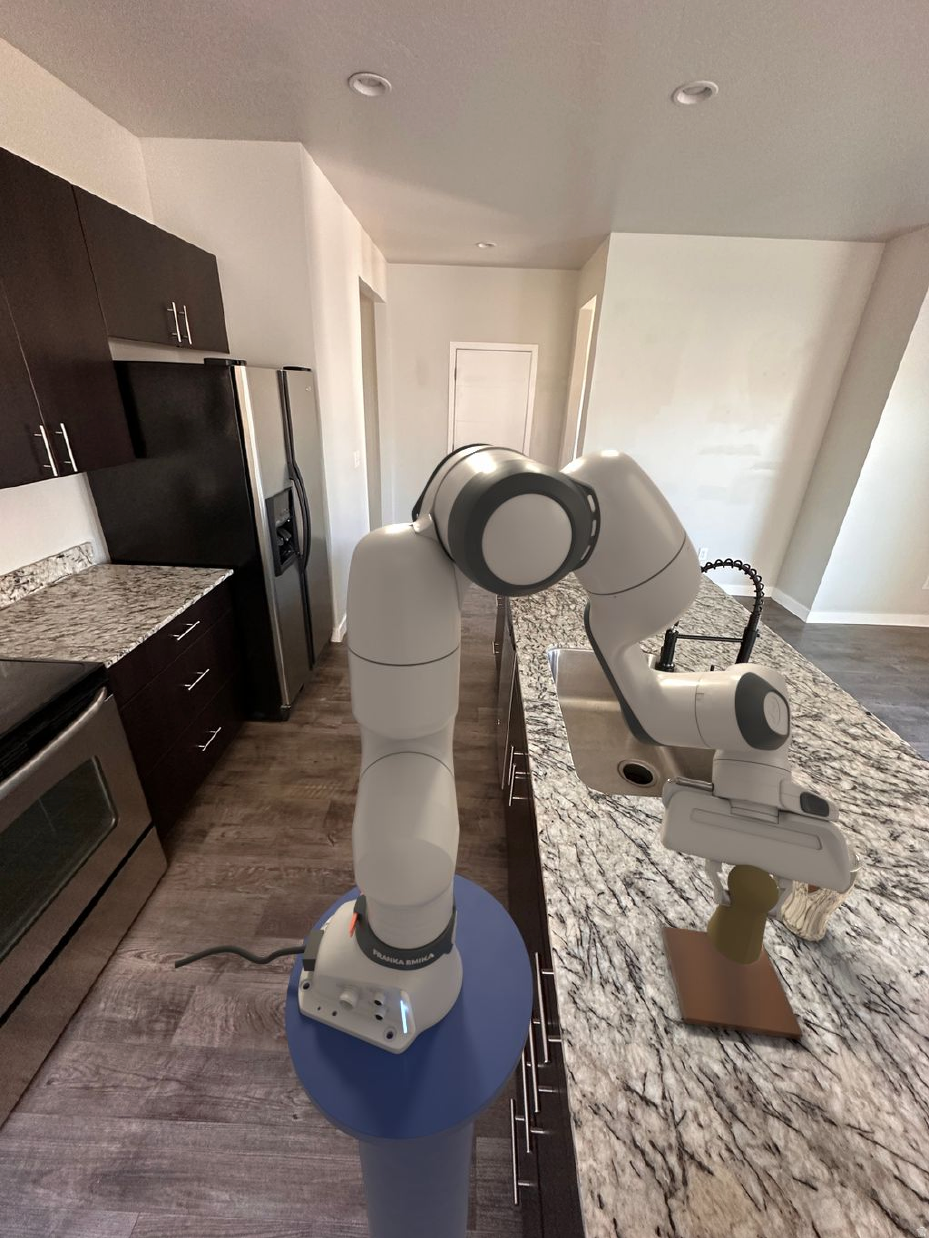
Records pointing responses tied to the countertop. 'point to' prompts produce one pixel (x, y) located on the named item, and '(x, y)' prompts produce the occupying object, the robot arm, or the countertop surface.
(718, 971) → the cutting board
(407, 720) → the robot arm
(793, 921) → the beer glass
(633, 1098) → the countertop surface
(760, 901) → the pepper mill
